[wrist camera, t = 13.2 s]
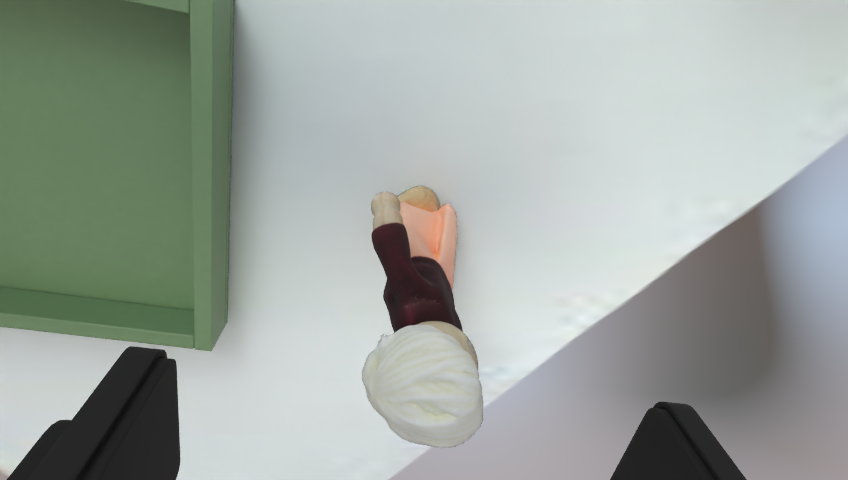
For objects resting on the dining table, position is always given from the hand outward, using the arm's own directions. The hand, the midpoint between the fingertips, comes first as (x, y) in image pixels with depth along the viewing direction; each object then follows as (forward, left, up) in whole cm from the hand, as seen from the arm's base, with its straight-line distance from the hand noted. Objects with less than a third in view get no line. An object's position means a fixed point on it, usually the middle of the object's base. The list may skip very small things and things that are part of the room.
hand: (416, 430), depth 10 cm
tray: (-17, -1, -14) cm, 22 cm away
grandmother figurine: (+1, -2, -15) cm, 15 cm away
